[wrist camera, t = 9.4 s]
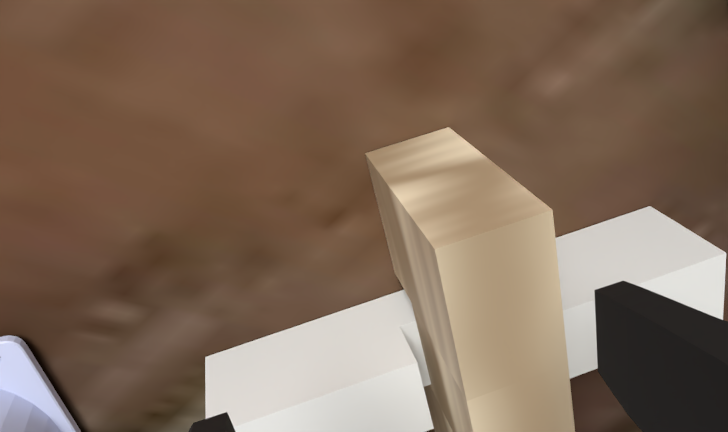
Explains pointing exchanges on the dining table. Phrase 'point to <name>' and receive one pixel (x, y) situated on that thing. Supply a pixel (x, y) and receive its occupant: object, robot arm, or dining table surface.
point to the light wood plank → (476, 285)
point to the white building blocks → (403, 345)
